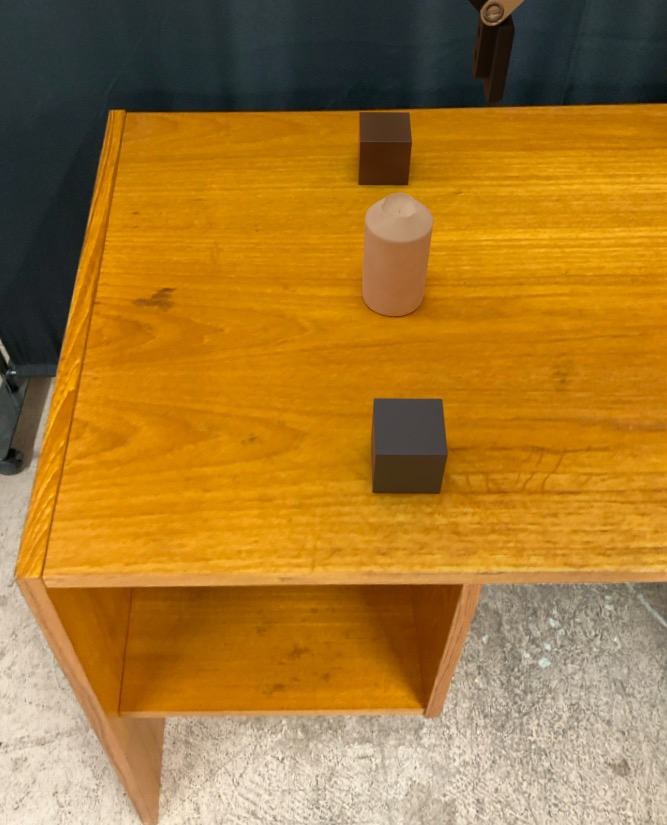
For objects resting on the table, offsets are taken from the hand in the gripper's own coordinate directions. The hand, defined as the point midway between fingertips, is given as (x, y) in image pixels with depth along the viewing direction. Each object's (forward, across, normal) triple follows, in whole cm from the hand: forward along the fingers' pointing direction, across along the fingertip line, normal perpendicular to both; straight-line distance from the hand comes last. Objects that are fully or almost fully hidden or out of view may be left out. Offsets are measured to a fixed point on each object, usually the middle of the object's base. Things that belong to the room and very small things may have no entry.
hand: (584, 89), depth 42 cm
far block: (+28, -8, +32) cm, 44 cm away
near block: (+28, -7, -4) cm, 30 cm away
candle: (+28, -8, +14) cm, 33 cm away
